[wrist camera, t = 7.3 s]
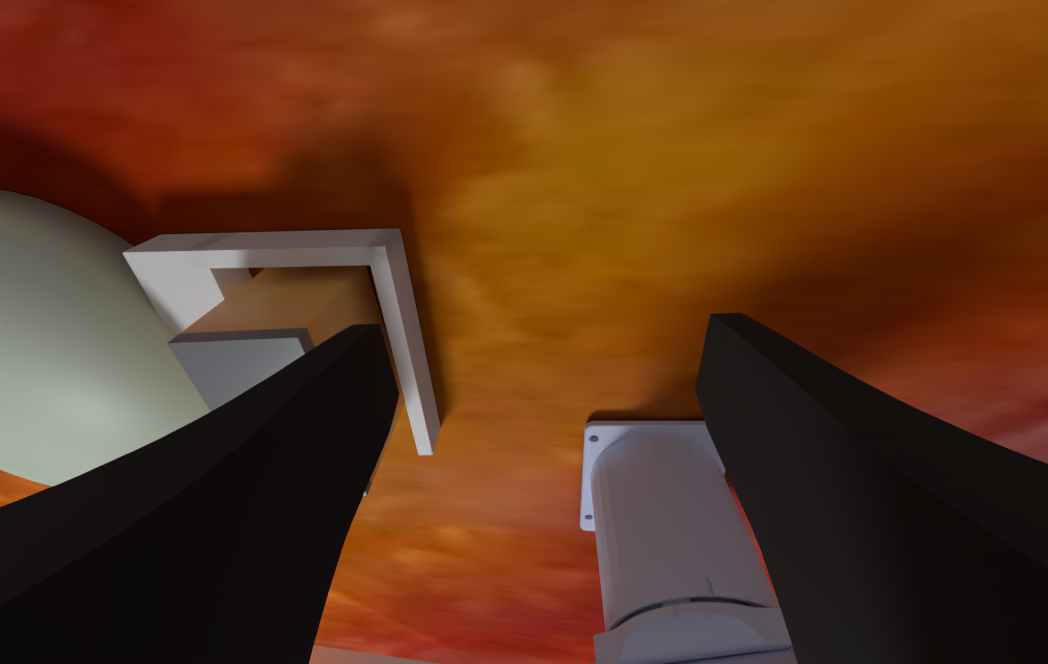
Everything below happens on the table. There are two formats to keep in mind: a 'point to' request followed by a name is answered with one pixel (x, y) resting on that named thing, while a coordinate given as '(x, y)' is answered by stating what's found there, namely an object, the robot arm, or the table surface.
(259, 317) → the rectangular flat-faced block
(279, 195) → the table surface
